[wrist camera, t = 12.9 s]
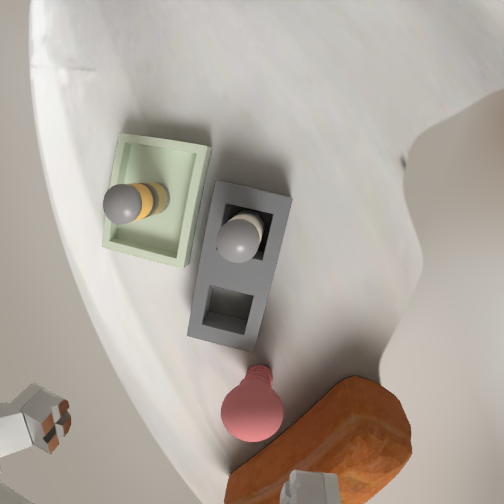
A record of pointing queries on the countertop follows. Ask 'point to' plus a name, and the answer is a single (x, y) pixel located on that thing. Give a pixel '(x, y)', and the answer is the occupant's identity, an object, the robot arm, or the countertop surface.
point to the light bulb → (253, 407)
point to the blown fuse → (135, 201)
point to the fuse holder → (236, 268)
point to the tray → (180, 189)
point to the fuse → (240, 236)
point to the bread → (333, 446)
